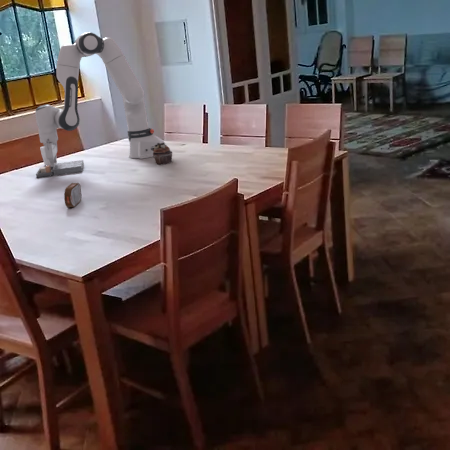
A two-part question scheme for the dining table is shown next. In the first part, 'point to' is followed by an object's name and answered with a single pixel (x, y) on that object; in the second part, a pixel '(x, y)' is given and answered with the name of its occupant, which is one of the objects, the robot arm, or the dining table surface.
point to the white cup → (46, 161)
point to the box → (44, 174)
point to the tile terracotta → (48, 168)
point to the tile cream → (42, 169)
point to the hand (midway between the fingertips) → (54, 164)
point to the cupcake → (162, 154)
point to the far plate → (68, 167)
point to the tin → (72, 195)
